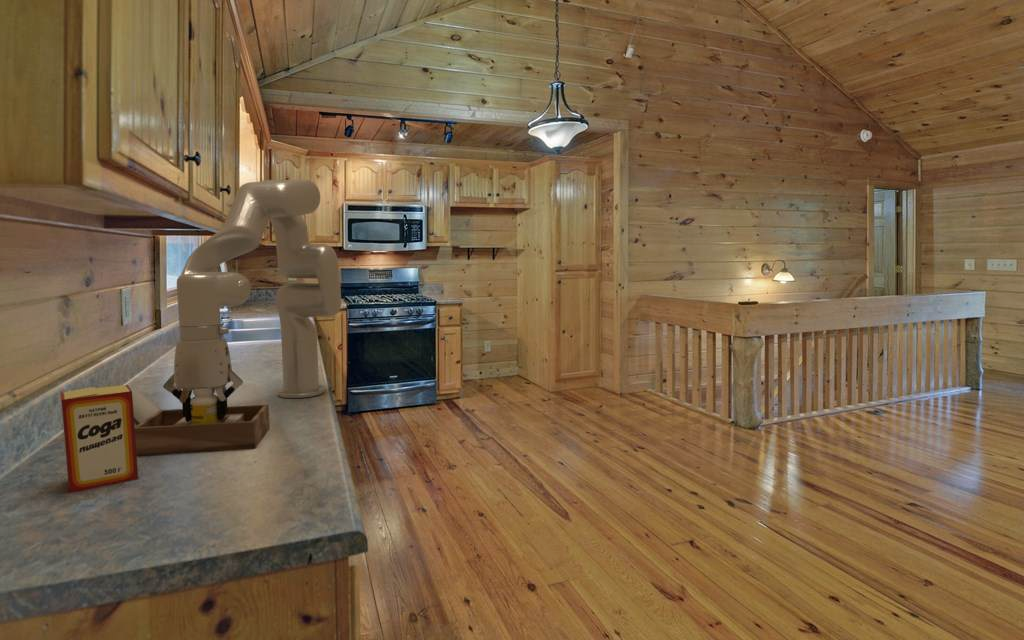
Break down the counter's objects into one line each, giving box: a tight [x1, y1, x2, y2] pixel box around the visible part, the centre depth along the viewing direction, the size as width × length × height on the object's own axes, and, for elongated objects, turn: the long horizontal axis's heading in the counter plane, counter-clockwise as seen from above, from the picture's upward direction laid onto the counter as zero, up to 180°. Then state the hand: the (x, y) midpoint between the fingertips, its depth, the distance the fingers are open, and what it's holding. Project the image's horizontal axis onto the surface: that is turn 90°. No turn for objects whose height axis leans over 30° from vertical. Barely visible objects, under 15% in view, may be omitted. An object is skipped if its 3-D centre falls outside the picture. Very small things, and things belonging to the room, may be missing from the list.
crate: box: [134, 404, 270, 457], centre depth 118 cm, size 14×22×6 cm, turn 102°
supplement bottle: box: [190, 388, 221, 424], centre depth 118 cm, size 5×5×10 cm
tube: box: [132, 390, 163, 424], centre depth 134 cm, size 5×5×25 cm
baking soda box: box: [60, 384, 139, 494], centre depth 97 cm, size 10×6×16 cm
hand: (205, 418), depth 118 cm, fingers closed on supplement bottle, 5 cm apart
